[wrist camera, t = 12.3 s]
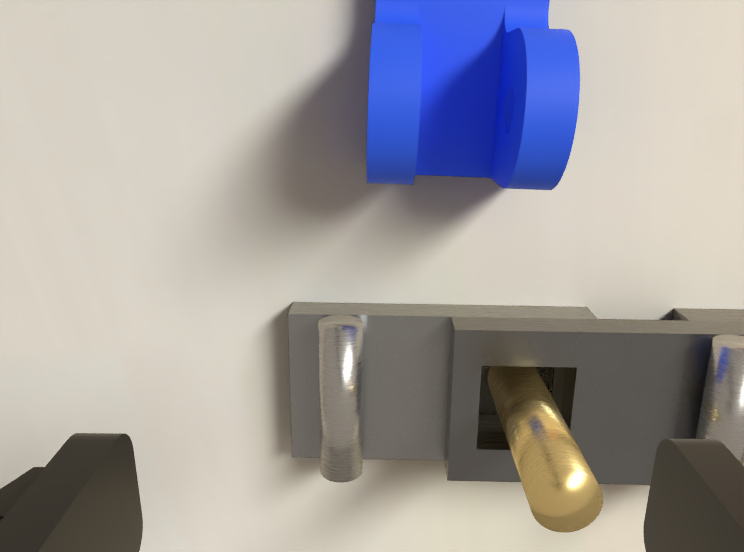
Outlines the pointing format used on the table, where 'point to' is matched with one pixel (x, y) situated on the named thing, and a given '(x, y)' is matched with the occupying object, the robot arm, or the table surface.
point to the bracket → (470, 92)
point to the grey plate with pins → (507, 348)
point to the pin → (544, 451)
